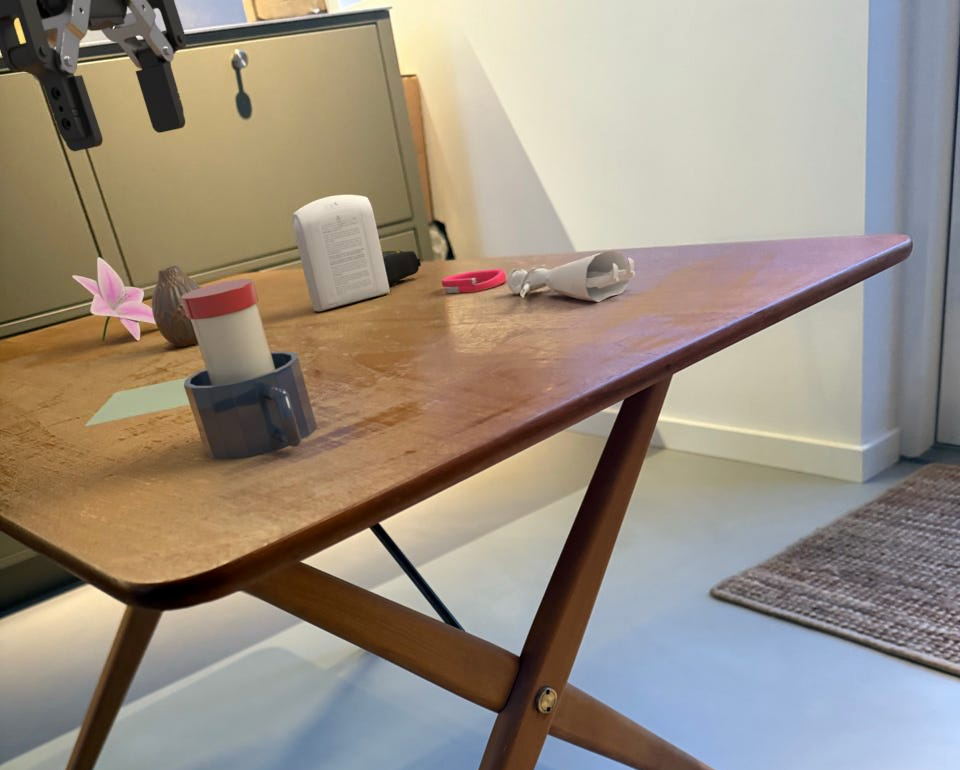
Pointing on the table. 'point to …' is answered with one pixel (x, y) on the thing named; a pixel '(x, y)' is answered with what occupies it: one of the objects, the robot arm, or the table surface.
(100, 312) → the lily
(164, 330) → the vase
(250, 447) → the mug
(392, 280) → the tape measure
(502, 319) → the table surface
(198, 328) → the jar
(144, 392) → the sticky note
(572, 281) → the woman figurine
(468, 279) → the fitness band
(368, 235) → the white rounded block
